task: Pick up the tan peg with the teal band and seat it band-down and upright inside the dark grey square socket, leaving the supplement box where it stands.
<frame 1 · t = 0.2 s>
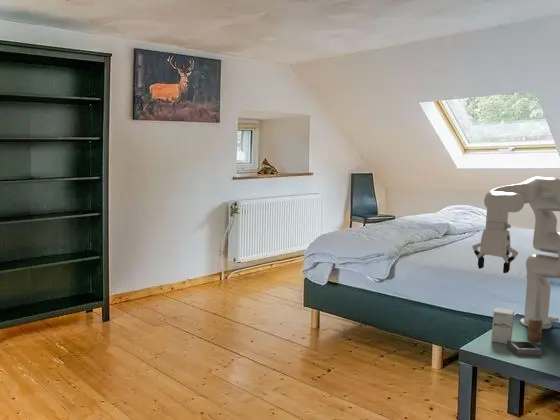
hand: (493, 270, 203), 31 cm above the table, tool pointing down, fingers open, 9 cm apart
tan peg: (533, 344, 212), on the table
supplement box: (501, 341, 215), on the table
socket: (523, 351, 204), on the table
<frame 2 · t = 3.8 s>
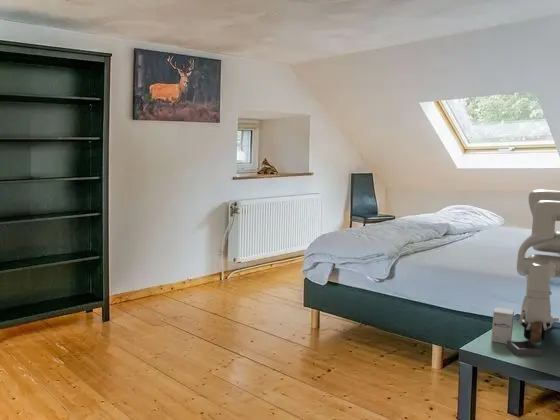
hand: (534, 338, 212), 2 cm above the table, tool pointing down, fingers closed on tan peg, 5 cm apart
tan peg: (533, 344, 212), on the table, touching gripper
everything else where it was.
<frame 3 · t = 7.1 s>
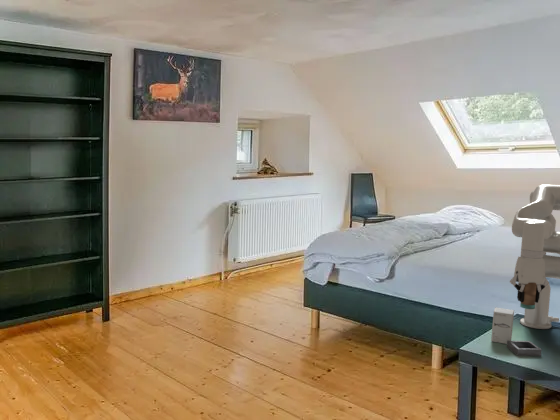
hand: (527, 301, 202), 20 cm above the table, tool pointing down, fingers closed on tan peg, 5 cm apart
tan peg: (527, 307, 202), point 17 cm above the table, touching gripper
everything else where it was.
when the fingers open (5 cm above the table, at t = 10.7 s): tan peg drops 2 cm, resting in socket.
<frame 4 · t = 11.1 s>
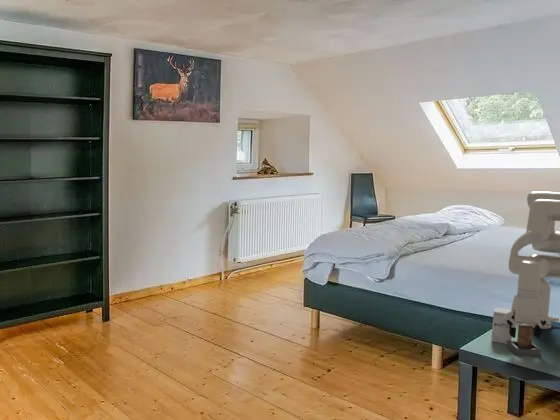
hand: (524, 336, 203), 6 cm above the table, tool pointing down, fingers open, 9 cm apart
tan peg: (523, 351, 204), resting in socket
everything else where it was.
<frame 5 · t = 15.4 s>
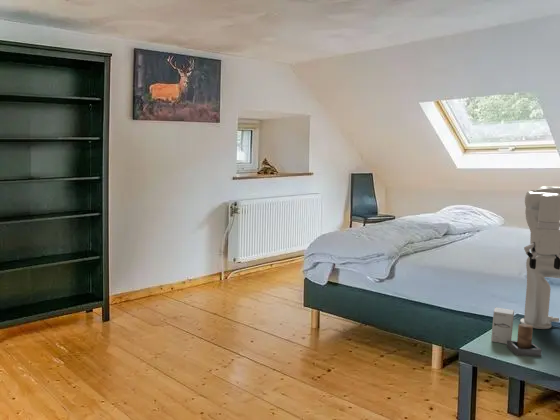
hand: (544, 268, 211), 30 cm above the table, tool pointing down, fingers open, 9 cm apart
nothing on the table moved.
at the end: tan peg 0.1 cm off-centre on the socket, point 0.0 cm above the socket's base; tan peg tilted 0°; the gripper is holding nothing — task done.
